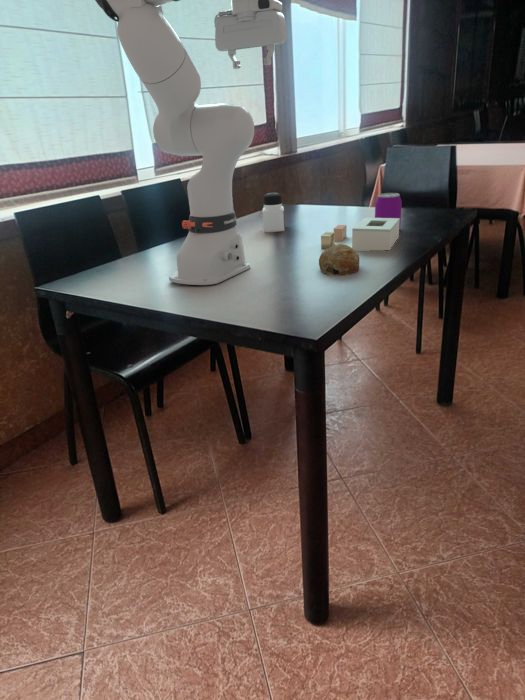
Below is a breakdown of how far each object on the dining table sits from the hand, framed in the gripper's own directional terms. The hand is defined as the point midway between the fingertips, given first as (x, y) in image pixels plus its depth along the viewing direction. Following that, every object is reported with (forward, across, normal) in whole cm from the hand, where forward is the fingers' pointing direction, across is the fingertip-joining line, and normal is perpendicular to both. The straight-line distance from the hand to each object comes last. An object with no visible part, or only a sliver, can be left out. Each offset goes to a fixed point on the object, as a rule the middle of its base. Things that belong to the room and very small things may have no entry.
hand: (252, 66), depth 136 cm
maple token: (+48, +24, -9) cm, 54 cm away
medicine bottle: (+48, -2, +13) cm, 50 cm away
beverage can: (+48, +37, +10) cm, 62 cm away
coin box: (+48, +37, -6) cm, 61 cm away
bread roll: (+48, +33, -27) cm, 65 cm away
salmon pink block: (+48, +25, 0) cm, 54 cm away
